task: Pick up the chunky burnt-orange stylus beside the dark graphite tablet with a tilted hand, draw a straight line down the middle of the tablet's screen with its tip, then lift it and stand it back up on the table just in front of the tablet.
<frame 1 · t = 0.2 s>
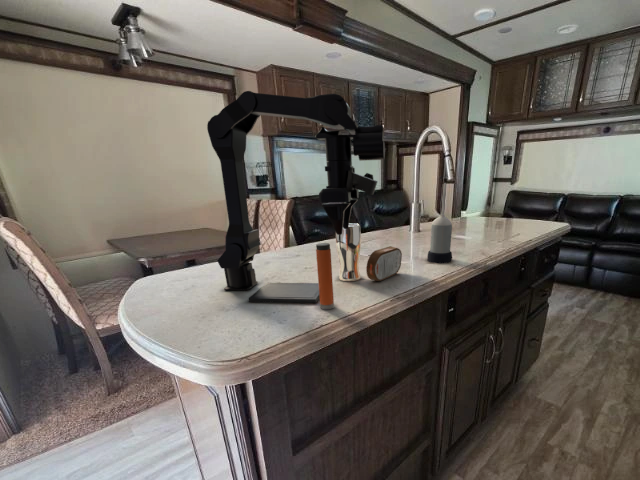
hand: (342, 231, 77), 15 cm above the countertop, tool pointing down, fingers open, 9 cm apart
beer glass: (349, 278, 90), on the countertop
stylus: (327, 306, 70), on the countertop
tin: (385, 278, 91), on the countertop
tablet: (290, 294, 78), on the countertop
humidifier: (439, 261, 109), on the countertop
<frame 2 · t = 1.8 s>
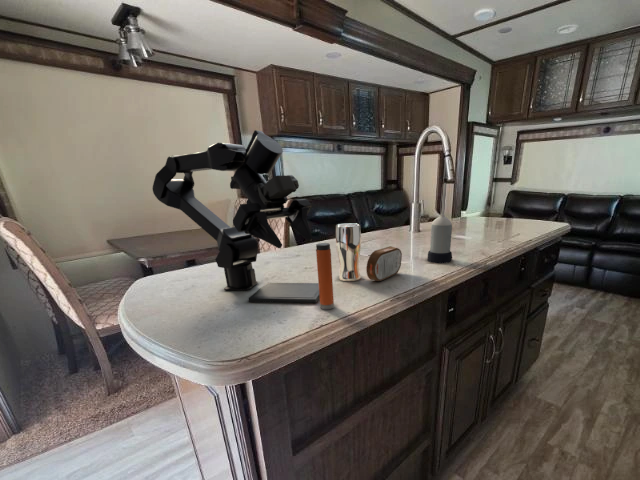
hand: (296, 243, 69), 13 cm above the countertop, tool tilted 45°, fingers open, 9 cm apart
nothing on the countertop moved.
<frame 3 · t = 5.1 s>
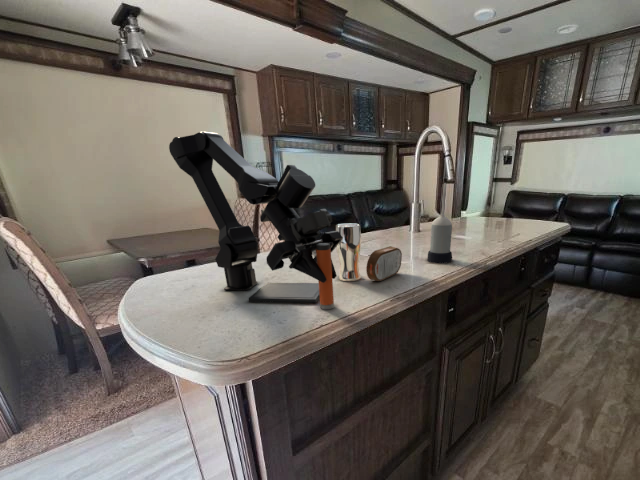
hand: (330, 279, 67), 7 cm above the countertop, tool tilted 45°, fingers closed on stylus, 3 cm apart
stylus: (327, 306, 70), on the countertop, touching gripper
everything else where it was.
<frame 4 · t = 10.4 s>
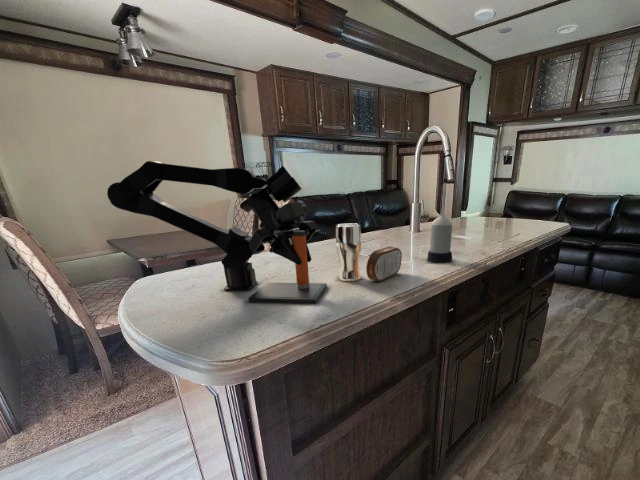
hand: (305, 262, 77), 8 cm above the countertop, tool tilted 45°, fingers closed on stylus, 3 cm apart
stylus: (303, 287, 80), point 1 cm above the countertop, touching gripper
everything else where it was.
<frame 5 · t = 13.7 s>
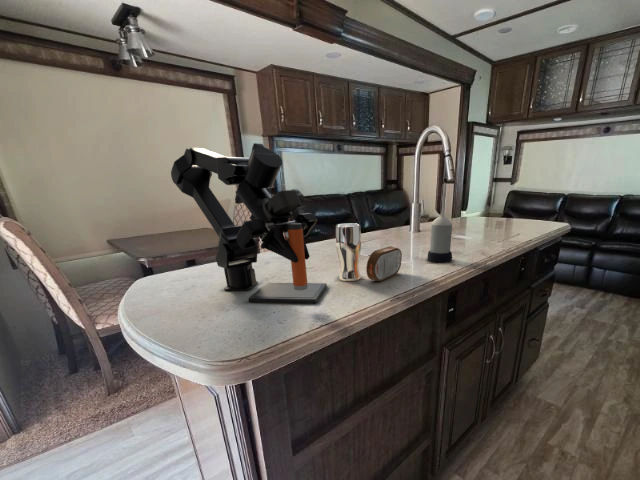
hand: (302, 259, 67), 11 cm above the countertop, tool tilted 45°, fingers closed on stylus, 3 cm apart
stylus: (300, 288, 70), point 4 cm above the countertop, touching gripper
everything else where it was.
when the fingers open (7 cm above the countertop, at t = 16.1 s): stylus stays where it is, on the countertop.
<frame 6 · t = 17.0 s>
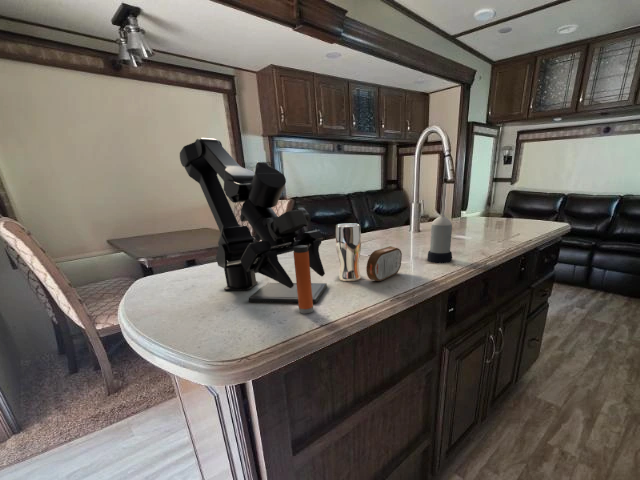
hand: (308, 280, 65), 7 cm above the countertop, tool tilted 45°, fingers open, 9 cm apart
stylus: (306, 310, 68), on the countertop
everything else where it was.
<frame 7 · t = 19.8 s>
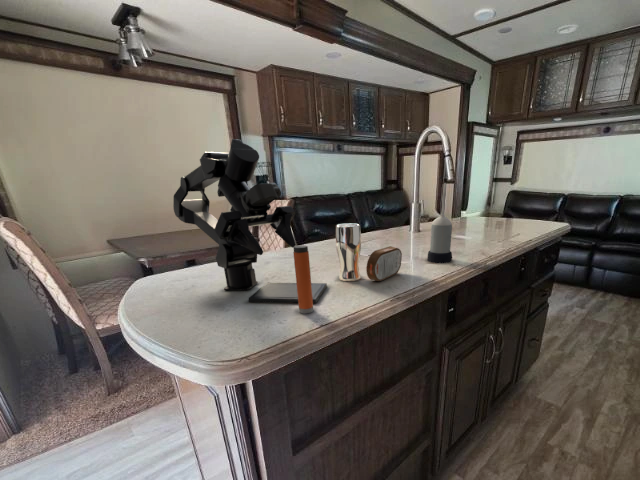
hand: (278, 249, 71), 12 cm above the countertop, tool tilted 45°, fingers open, 9 cm apart
nothing on the countertop moved.
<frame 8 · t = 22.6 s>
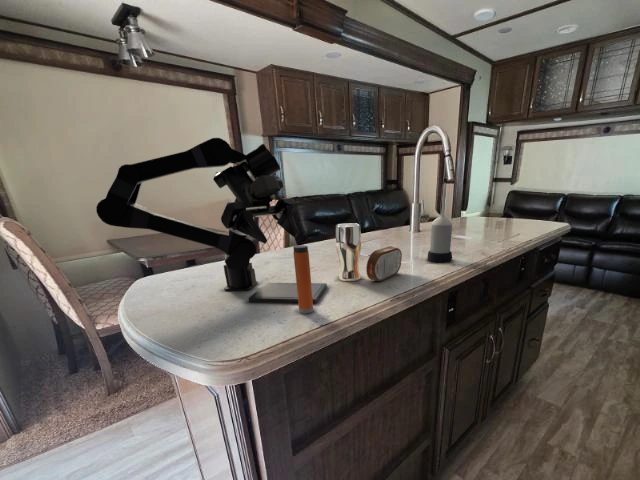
hand: (281, 239, 74), 14 cm above the countertop, tool tilted 45°, fingers open, 9 cm apart
nothing on the countertop moved.
at the end: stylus 0.1 cm from the target spot, on the countertop; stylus tilted 0°; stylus touching countertop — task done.
